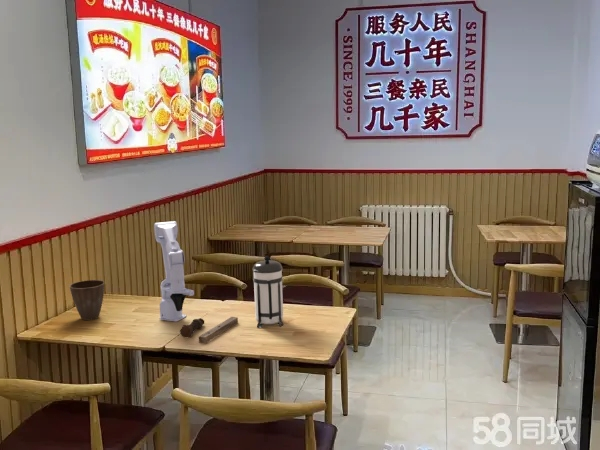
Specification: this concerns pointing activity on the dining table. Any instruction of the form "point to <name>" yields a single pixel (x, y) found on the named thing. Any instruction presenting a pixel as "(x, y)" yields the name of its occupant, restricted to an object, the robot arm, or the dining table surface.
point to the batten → (218, 330)
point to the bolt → (191, 327)
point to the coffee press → (268, 292)
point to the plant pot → (88, 298)
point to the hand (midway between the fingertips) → (179, 310)
